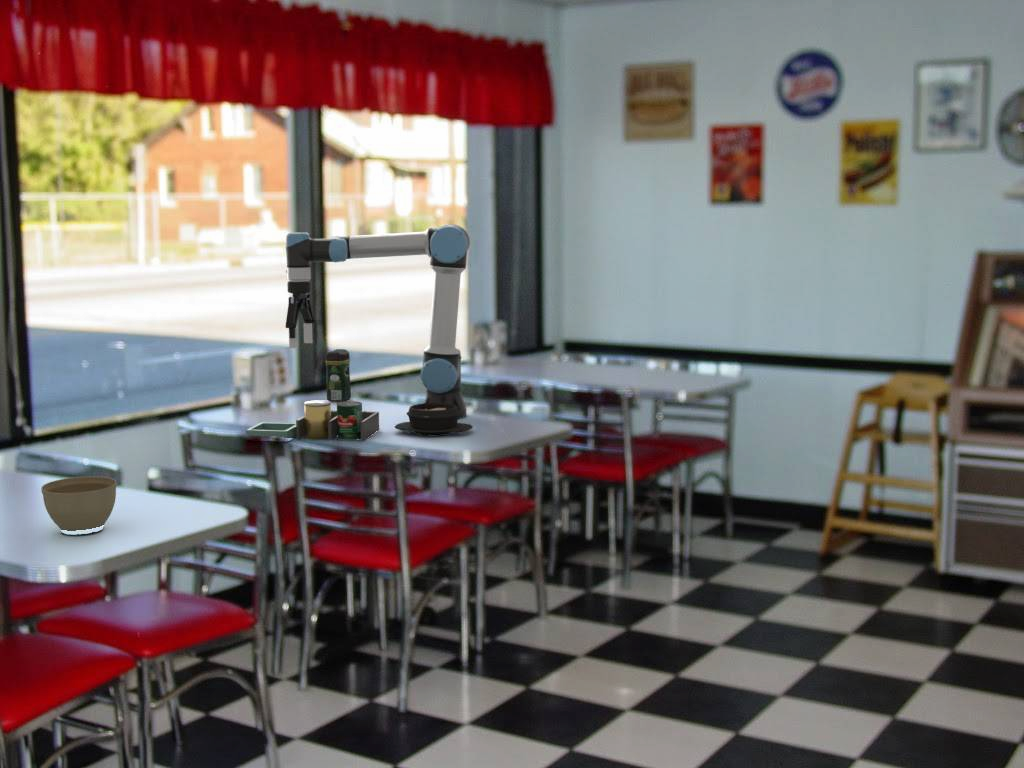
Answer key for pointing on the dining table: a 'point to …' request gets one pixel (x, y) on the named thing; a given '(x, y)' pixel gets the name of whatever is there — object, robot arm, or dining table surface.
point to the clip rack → (367, 425)
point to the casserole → (433, 419)
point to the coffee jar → (338, 375)
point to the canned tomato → (349, 420)
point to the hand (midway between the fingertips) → (301, 345)
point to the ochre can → (317, 419)
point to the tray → (274, 430)
